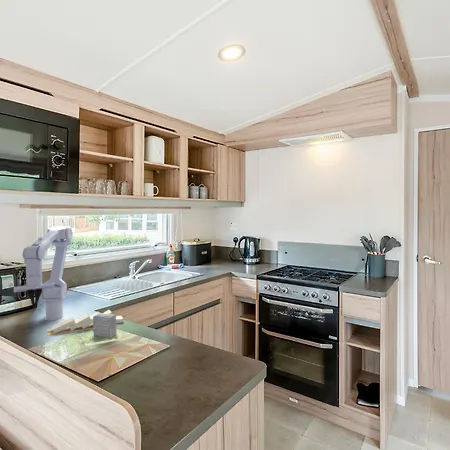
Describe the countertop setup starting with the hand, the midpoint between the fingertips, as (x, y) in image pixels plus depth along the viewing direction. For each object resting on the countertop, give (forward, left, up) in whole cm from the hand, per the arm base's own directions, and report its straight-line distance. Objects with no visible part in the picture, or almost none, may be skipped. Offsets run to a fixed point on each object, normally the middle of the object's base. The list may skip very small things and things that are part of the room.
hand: (34, 307), depth 138 cm
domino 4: (+6, +22, -9) cm, 24 cm away
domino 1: (+6, +6, -9) cm, 12 cm away
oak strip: (+6, +16, -10) cm, 20 cm away
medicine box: (+20, +24, -11) cm, 33 cm away
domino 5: (+6, +26, -9) cm, 28 cm away
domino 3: (+6, +17, -9) cm, 20 cm away
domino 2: (+6, +12, -9) cm, 16 cm away
